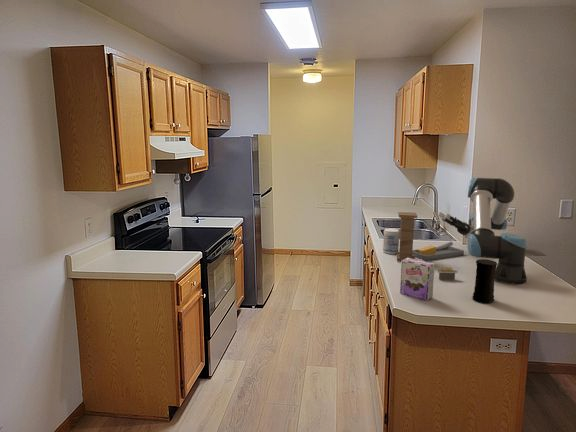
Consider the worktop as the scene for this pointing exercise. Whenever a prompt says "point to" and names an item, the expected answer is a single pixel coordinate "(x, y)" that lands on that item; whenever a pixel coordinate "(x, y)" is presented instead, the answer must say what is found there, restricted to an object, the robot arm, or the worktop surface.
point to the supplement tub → (391, 241)
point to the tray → (439, 254)
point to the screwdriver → (433, 249)
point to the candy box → (417, 278)
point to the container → (484, 281)
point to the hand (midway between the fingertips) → (442, 214)
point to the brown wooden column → (406, 235)
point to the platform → (446, 273)
